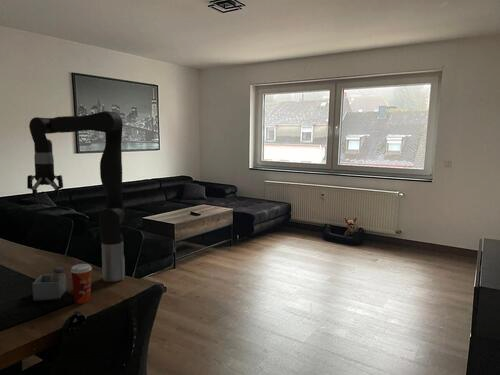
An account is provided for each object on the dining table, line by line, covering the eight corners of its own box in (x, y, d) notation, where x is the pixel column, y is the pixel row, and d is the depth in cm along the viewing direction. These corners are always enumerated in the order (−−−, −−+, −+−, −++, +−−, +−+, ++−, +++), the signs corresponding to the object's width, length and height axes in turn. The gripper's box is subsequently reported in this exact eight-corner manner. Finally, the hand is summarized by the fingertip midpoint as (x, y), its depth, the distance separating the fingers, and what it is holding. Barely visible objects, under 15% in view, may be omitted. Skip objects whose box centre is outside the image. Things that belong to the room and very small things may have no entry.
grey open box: (66, 289, 155) (65, 273, 154) (59, 299, 146) (58, 282, 145) (42, 290, 153) (41, 274, 152) (33, 300, 144) (32, 283, 143)
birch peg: (56, 291, 151) (64, 268, 152) (53, 294, 148) (62, 271, 148) (47, 289, 151) (55, 266, 151) (44, 292, 147) (52, 268, 147)
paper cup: (84, 305, 141) (83, 270, 139) (67, 303, 142) (65, 268, 140) (97, 297, 148) (96, 263, 146) (80, 295, 150) (79, 262, 148)
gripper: (23, 163, 160) (25, 199, 162) (58, 163, 163) (60, 199, 165) (30, 161, 167) (32, 196, 170) (63, 162, 170) (65, 196, 172)
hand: (46, 197), depth 167 cm, fingers open, 8 cm apart
